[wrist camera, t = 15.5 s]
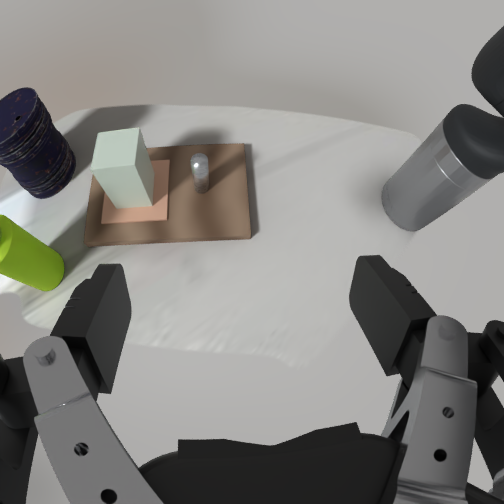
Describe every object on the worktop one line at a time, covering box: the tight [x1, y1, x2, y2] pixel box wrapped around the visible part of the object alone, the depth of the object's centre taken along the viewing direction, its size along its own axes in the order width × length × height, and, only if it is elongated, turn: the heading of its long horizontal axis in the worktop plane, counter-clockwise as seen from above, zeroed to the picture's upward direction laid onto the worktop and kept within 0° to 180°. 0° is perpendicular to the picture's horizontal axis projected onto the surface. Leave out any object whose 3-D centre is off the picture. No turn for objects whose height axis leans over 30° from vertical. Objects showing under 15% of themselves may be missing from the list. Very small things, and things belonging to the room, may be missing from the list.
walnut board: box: [84, 144, 251, 247], centre depth 41 cm, size 22×14×2 cm, turn 94°
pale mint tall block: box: [91, 127, 155, 209], centre depth 35 cm, size 5×5×10 cm
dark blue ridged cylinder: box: [0, 87, 76, 199], centre depth 34 cm, size 10×10×15 cm
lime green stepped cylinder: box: [0, 215, 64, 291], centre depth 27 cm, size 6×7×20 cm
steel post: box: [190, 153, 209, 194], centre depth 38 cm, size 2×2×6 cm
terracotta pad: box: [101, 160, 170, 224], centre depth 39 cm, size 9×9×1 cm
